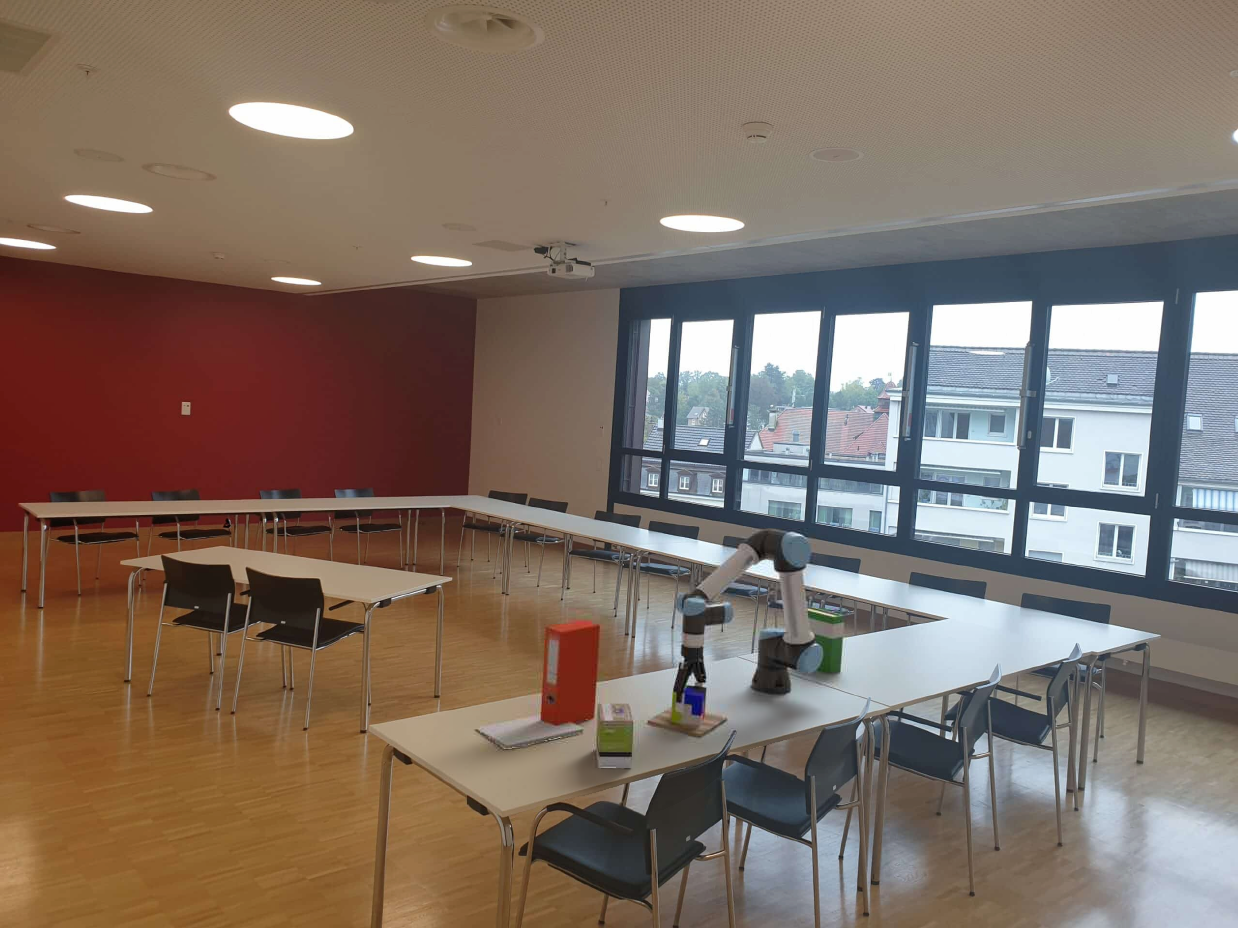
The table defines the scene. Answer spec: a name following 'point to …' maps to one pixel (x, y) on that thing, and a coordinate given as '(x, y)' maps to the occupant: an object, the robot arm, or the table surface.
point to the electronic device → (527, 731)
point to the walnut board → (707, 724)
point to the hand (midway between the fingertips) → (688, 706)
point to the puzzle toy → (690, 706)
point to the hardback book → (827, 637)
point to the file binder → (570, 672)
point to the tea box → (614, 735)
